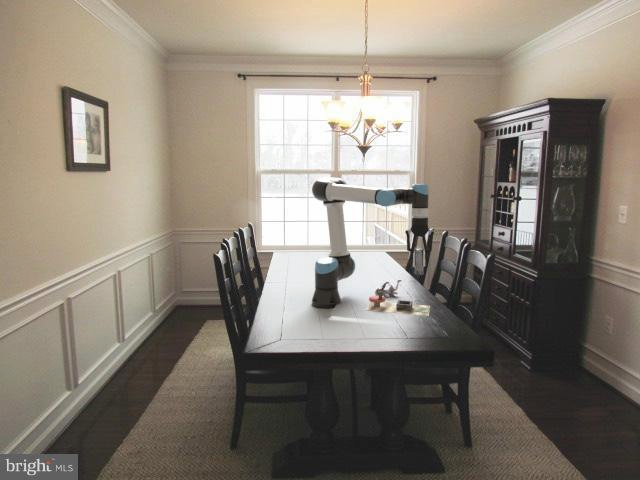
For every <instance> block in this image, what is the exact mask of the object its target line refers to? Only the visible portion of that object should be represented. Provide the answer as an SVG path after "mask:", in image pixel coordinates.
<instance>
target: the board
mask: <svg viewBox="0 0 640 480" xmlns="http://www.w3.org/2000/svg"><path fill="white" fill-rule="evenodd" d="M365 311H368V312H377V313H378V312H380V313H388V314H389V313H391V314H403V315H411V316H426V317H429V315H430V311H431V305H425V304H415V303H414V304H413V300H402V299H401V300H400V299H398V300H397V302H389V301H385V302H382V303H380V307H374V302H370V301H369V303H368V305H367V307H366V308H365Z"/></svg>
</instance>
